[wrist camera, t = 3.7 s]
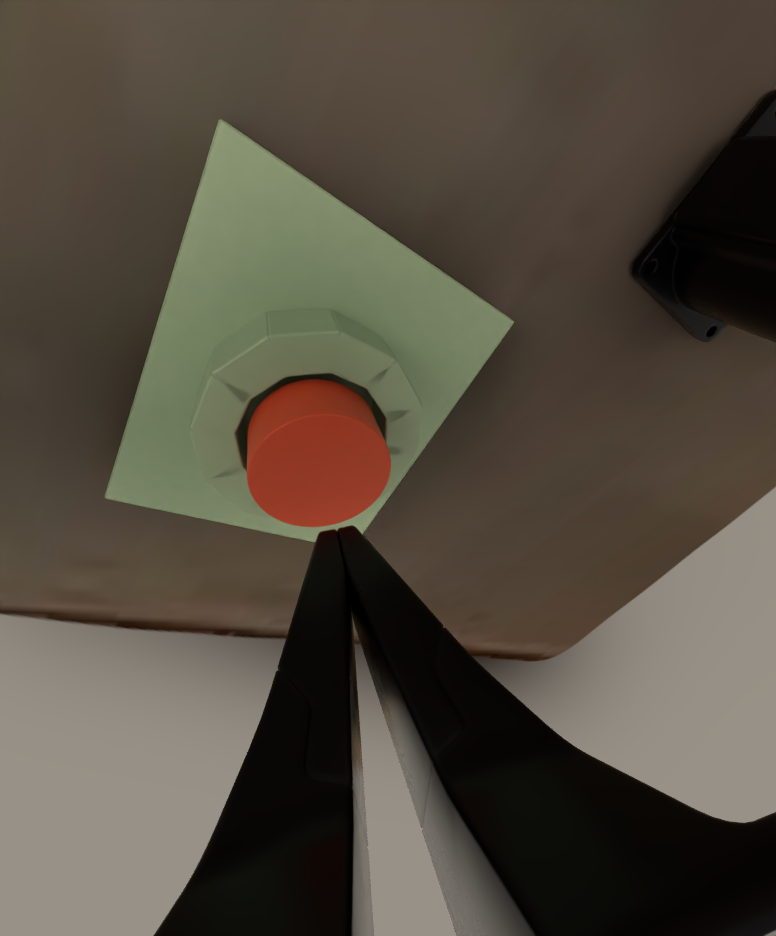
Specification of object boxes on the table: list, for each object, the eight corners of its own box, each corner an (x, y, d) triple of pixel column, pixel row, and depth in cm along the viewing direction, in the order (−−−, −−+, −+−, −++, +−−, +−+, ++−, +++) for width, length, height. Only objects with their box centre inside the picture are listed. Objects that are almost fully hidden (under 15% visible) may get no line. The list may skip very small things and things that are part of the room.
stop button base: (490, 304, 16) (547, 343, 13) (344, 520, 21) (359, 585, 18) (224, 121, 11) (212, 112, 8) (118, 464, 16) (86, 541, 13)
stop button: (397, 408, 13) (417, 443, 12) (340, 497, 15) (350, 538, 13) (279, 356, 11) (283, 390, 10) (228, 466, 13) (225, 510, 11)
